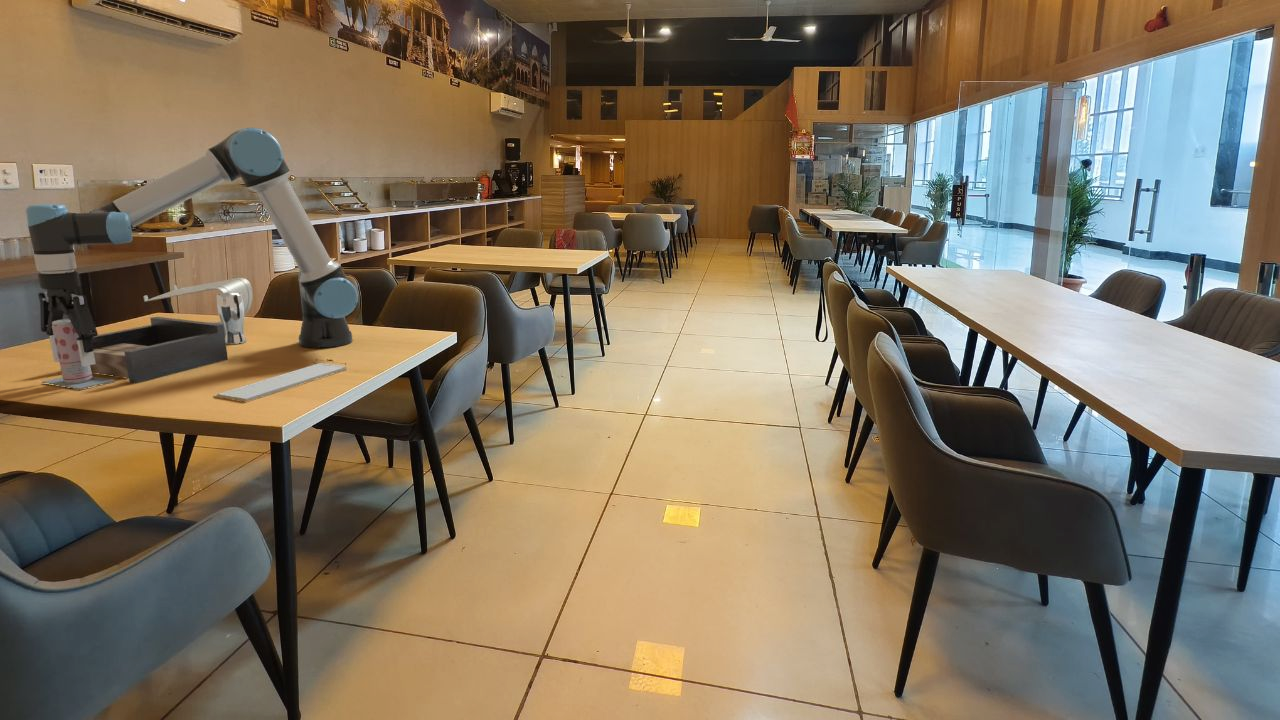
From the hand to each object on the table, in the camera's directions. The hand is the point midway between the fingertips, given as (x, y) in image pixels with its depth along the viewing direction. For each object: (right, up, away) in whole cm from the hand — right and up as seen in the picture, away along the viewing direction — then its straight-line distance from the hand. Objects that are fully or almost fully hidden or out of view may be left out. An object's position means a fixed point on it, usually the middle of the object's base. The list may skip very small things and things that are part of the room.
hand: (74, 362), depth 177 cm
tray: (+7, -1, +18) cm, 20 cm away
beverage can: (0, -5, +1) cm, 5 cm away
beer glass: (+14, +6, +45) cm, 47 cm away
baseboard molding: (+48, -6, +5) cm, 49 cm away
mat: (0, -5, +1) cm, 5 cm away
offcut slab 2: (+3, -3, +9) cm, 10 cm away
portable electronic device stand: (-5, +10, +62) cm, 63 cm away
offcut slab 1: (+4, -2, +12) cm, 13 cm away
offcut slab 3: (+6, -2, +15) cm, 16 cm away
